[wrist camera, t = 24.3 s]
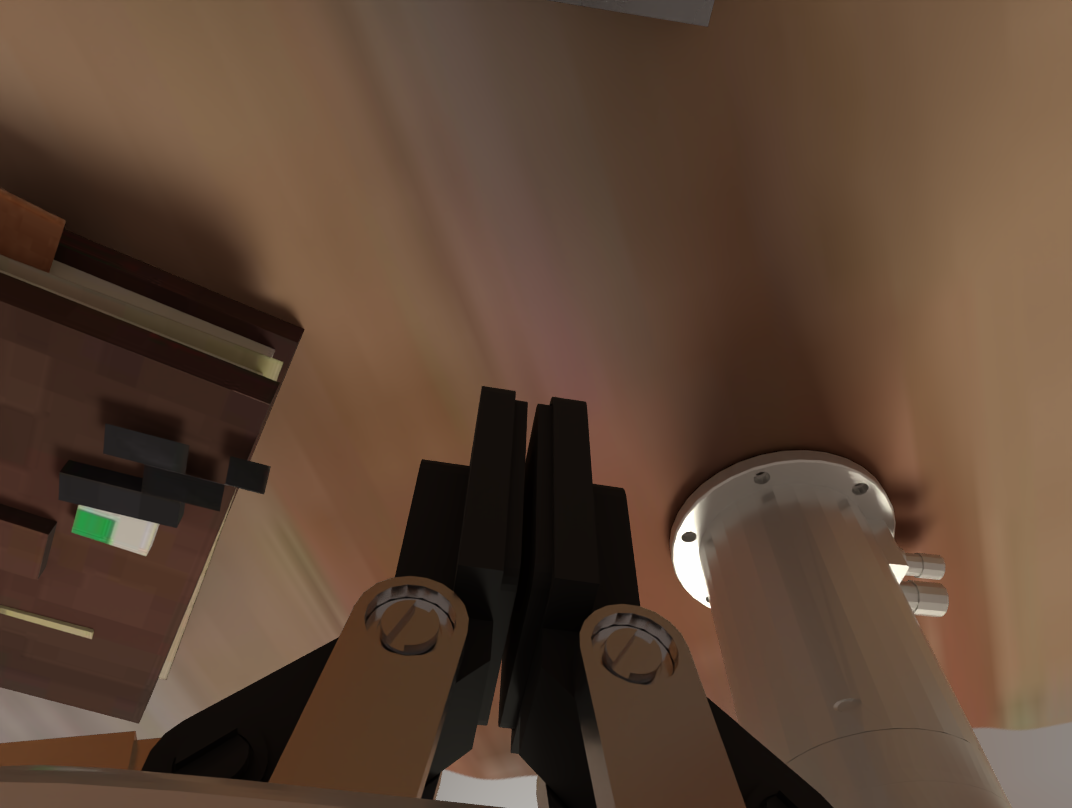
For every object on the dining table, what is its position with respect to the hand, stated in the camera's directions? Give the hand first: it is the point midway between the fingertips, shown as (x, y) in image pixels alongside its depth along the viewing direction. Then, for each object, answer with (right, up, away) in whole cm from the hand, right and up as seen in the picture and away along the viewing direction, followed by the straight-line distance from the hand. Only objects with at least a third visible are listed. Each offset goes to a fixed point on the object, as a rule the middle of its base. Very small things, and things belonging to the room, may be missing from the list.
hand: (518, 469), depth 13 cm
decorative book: (-24, -1, +30) cm, 39 cm away
